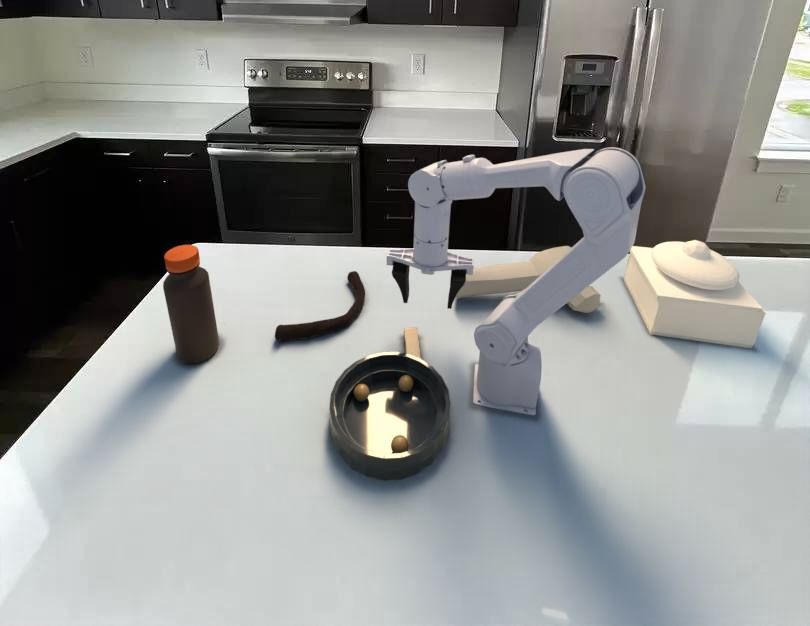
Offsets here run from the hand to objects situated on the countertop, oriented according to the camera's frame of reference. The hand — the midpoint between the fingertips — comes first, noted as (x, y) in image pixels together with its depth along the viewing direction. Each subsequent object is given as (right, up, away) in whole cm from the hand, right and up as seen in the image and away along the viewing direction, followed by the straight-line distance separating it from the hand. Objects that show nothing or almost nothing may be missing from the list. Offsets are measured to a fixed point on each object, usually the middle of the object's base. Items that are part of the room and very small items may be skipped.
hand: (427, 302), depth 74 cm
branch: (-20, -5, +12) cm, 24 cm away
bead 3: (-5, -13, -16) cm, 21 cm away
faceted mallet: (+21, -5, +17) cm, 27 cm away
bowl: (-6, -14, -11) cm, 19 cm away
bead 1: (-10, -10, -9) cm, 17 cm away
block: (-3, -10, +1) cm, 10 cm away
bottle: (-40, -9, +1) cm, 41 cm away
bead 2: (-4, -10, -8) cm, 14 cm away
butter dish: (+53, -6, +14) cm, 55 cm away
